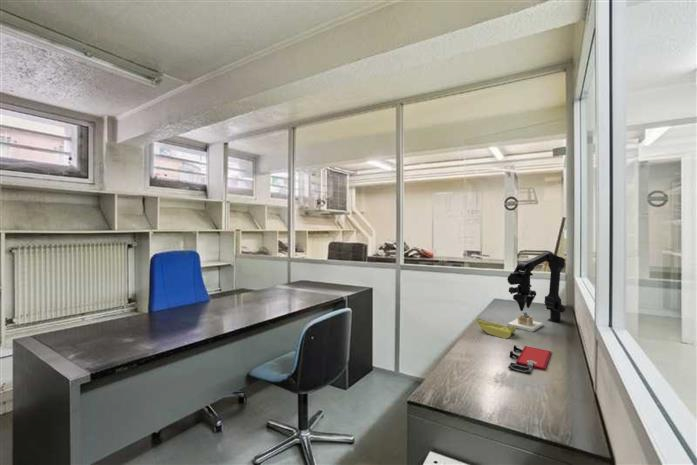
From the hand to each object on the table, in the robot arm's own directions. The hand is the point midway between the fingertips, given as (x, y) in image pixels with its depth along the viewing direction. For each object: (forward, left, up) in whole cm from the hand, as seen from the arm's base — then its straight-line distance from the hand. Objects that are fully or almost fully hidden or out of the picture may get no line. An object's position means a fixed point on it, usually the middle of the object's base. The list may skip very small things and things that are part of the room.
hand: (524, 309), depth 199 cm
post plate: (0, 0, -10) cm, 10 cm away
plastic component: (+23, -7, -10) cm, 26 cm away
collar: (0, 0, -8) cm, 8 cm away
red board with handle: (+48, +20, -11) cm, 53 cm away
